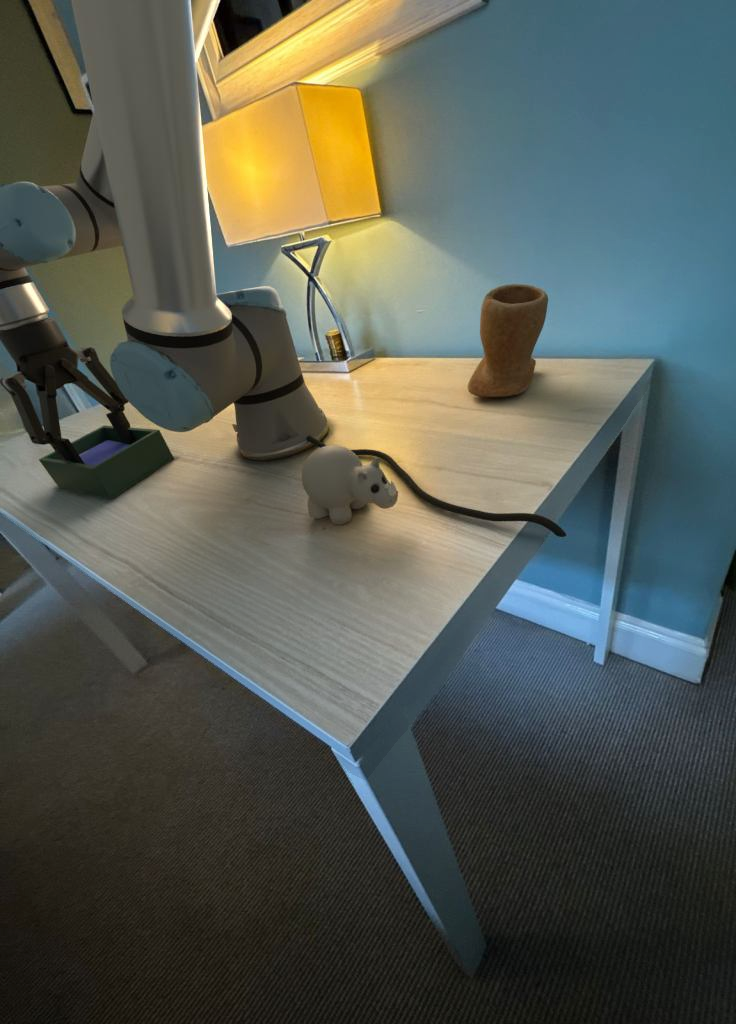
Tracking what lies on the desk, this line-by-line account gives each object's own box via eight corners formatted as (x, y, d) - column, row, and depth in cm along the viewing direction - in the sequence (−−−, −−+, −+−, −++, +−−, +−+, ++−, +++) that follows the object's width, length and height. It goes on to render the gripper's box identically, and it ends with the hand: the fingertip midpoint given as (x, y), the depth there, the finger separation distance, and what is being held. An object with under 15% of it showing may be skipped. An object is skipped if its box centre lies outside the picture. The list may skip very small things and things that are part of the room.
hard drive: (65, 461, 75) (100, 471, 68) (108, 438, 80) (145, 446, 73) (71, 469, 76) (106, 480, 69) (113, 446, 81) (149, 454, 74)
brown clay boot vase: (539, 403, 66) (542, 295, 57) (461, 403, 71) (453, 305, 63) (552, 366, 76) (556, 270, 68) (483, 369, 82) (479, 280, 73)
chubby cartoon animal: (383, 546, 46) (368, 478, 41) (302, 522, 53) (280, 461, 48) (417, 508, 50) (407, 442, 46) (338, 489, 57) (321, 430, 52)
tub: (174, 458, 77) (159, 429, 73) (112, 499, 68) (92, 468, 65) (119, 451, 85) (104, 425, 82) (58, 487, 77) (38, 459, 73)
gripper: (77, 304, 71) (146, 430, 84) (-71, 349, 57) (38, 492, 70) (103, 299, 67) (171, 432, 80) (-49, 346, 53) (62, 498, 66)
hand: (109, 460), depth 75 cm, fingers closed on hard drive, 8 cm apart
